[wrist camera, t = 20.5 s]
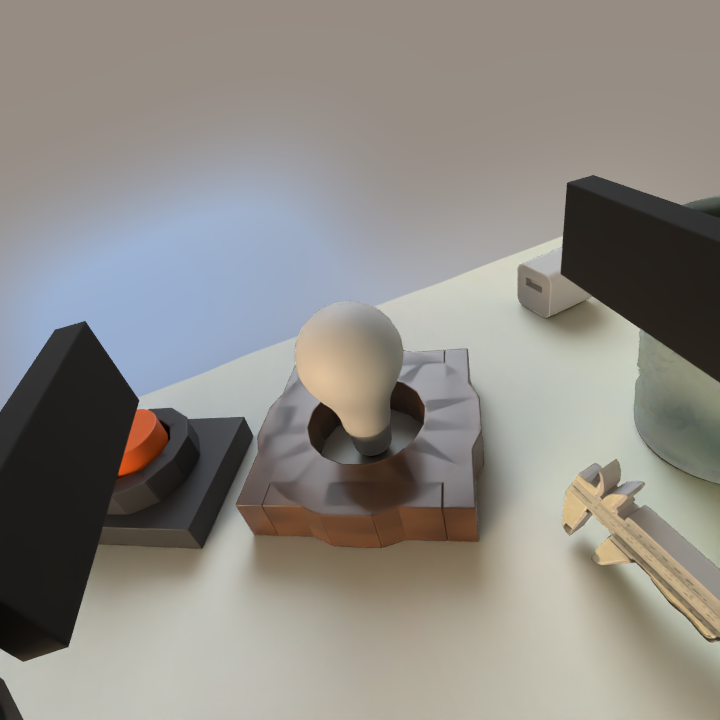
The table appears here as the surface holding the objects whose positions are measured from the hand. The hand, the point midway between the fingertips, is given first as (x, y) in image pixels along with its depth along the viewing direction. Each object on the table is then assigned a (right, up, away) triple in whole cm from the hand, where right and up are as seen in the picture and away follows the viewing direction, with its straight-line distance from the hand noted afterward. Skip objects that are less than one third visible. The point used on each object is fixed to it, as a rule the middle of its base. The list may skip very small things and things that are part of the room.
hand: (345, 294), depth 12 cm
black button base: (-14, -11, +19) cm, 26 cm away
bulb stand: (+1, -8, +18) cm, 19 cm away
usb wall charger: (+19, +4, +27) cm, 33 cm away
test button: (-14, -8, +17) cm, 24 cm away
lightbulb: (+1, -8, +18) cm, 19 cm away
